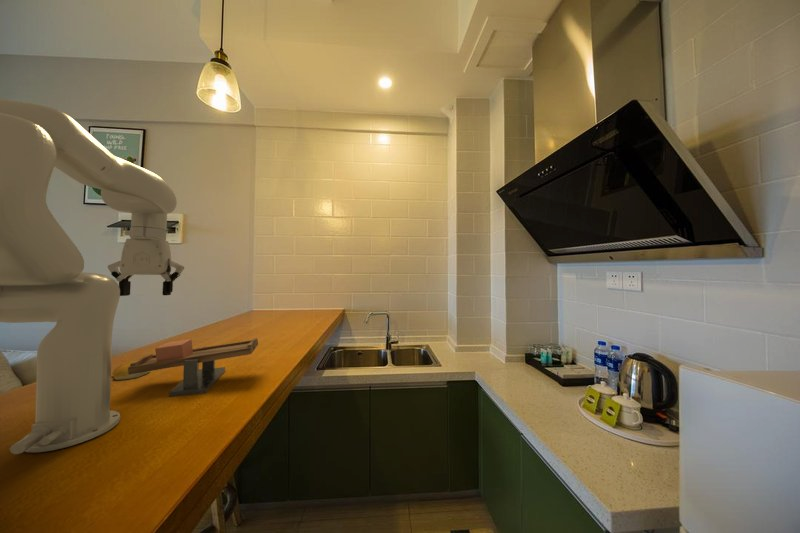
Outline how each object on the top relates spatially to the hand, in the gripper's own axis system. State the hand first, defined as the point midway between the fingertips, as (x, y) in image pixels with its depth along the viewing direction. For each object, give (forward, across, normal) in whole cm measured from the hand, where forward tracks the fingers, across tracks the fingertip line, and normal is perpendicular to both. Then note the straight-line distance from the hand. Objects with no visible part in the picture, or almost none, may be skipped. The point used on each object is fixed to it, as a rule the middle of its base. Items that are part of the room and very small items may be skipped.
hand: (146, 295), depth 77 cm
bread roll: (+25, -7, +9) cm, 28 cm away
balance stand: (+25, +15, -3) cm, 29 cm away
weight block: (+17, +9, -3) cm, 20 cm away
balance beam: (+18, +15, -3) cm, 23 cm away
